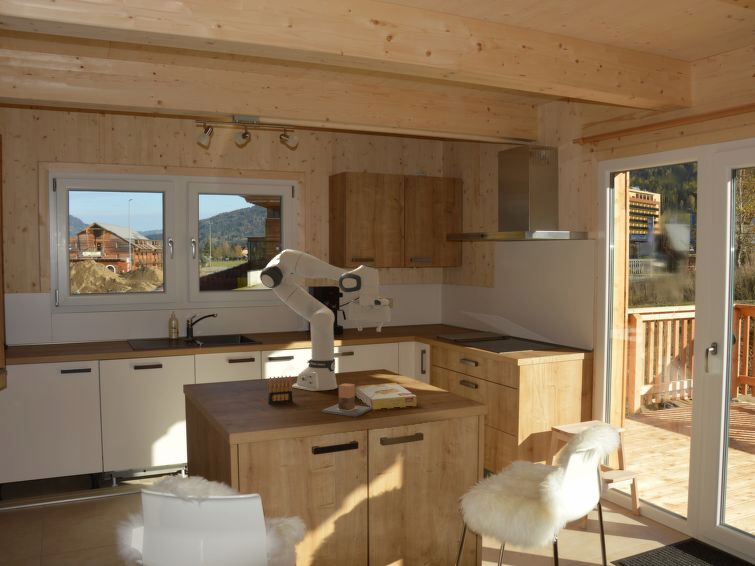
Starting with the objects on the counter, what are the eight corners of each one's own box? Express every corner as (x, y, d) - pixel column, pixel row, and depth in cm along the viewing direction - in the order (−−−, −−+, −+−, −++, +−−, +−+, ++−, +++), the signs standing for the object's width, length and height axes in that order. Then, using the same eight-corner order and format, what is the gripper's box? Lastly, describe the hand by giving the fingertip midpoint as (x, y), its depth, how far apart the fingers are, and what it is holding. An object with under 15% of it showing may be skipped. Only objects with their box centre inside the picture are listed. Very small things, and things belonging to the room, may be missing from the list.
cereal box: (395, 382, 322) (417, 394, 295) (395, 393, 322) (417, 406, 296) (354, 385, 316) (373, 398, 289) (354, 397, 316) (373, 411, 289)
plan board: (322, 412, 284) (322, 409, 284) (338, 405, 297) (338, 403, 297) (355, 416, 277) (355, 414, 277) (371, 409, 289) (371, 407, 289)
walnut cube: (338, 409, 286) (338, 397, 285) (344, 406, 290) (344, 395, 290) (349, 410, 283) (349, 398, 283) (354, 407, 288) (354, 396, 287)
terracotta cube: (338, 397, 285) (338, 385, 285) (344, 394, 290) (344, 383, 290) (349, 398, 283) (349, 386, 283) (354, 396, 288) (354, 384, 287)
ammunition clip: (291, 401, 305) (291, 374, 304) (292, 402, 303) (292, 375, 303) (268, 403, 301) (267, 376, 300) (268, 404, 299) (268, 377, 299)
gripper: (345, 300, 308) (345, 330, 309) (386, 301, 299) (386, 333, 300) (352, 299, 314) (352, 329, 315) (392, 300, 305) (392, 331, 306)
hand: (369, 331), depth 307 cm, fingers open, 8 cm apart
